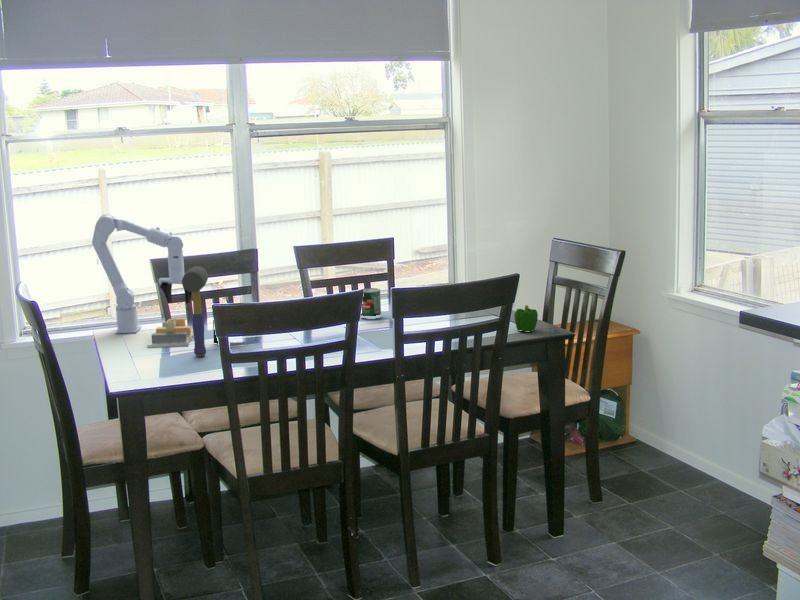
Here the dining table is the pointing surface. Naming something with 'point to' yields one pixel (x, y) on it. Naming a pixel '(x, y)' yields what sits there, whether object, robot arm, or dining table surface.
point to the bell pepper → (526, 319)
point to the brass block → (170, 326)
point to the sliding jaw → (179, 327)
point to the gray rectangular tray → (170, 339)
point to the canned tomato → (371, 302)
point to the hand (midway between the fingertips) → (178, 302)
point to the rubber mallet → (196, 304)
